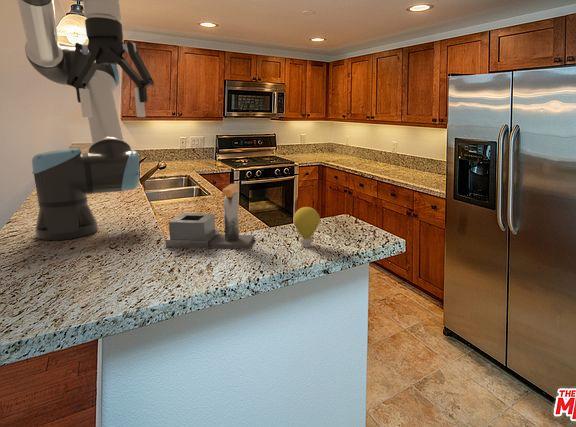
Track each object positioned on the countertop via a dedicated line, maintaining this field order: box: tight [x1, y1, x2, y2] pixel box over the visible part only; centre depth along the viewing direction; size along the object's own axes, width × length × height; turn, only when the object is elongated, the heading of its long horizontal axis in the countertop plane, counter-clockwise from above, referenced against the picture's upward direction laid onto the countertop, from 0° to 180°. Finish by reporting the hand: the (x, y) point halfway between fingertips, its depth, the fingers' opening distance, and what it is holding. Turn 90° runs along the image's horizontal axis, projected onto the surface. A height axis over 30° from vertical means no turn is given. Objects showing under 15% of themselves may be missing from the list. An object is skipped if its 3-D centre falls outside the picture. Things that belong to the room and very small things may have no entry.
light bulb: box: [292, 206, 321, 248], centre depth 92 cm, size 7×7×10 cm
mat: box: [209, 233, 255, 250], centre depth 95 cm, size 10×8×1 cm
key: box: [222, 183, 240, 241], centre depth 93 cm, size 9×4×14 cm, turn 176°
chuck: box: [164, 212, 221, 250], centre depth 95 cm, size 11×10×6 cm
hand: (114, 117), depth 88 cm, fingers open, 13 cm apart
